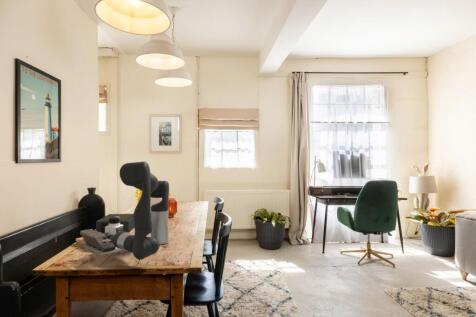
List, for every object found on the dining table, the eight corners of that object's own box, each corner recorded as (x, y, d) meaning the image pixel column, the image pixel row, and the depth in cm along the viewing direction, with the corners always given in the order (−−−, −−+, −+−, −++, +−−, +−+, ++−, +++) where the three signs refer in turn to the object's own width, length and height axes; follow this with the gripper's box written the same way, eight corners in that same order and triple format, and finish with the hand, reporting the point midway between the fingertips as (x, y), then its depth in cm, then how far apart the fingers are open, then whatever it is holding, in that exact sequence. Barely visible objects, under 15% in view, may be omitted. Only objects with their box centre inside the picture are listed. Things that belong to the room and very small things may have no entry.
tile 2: (111, 244, 150) (100, 232, 157) (98, 247, 145) (88, 234, 152) (110, 247, 150) (100, 235, 157) (98, 250, 146) (88, 237, 153)
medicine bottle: (116, 240, 166) (116, 218, 166) (104, 239, 168) (104, 217, 168) (123, 236, 173) (123, 216, 173) (112, 236, 175) (112, 215, 175)
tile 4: (101, 240, 156) (92, 228, 163) (89, 243, 151) (80, 230, 159) (100, 243, 156) (91, 231, 164) (89, 246, 152) (79, 233, 159)
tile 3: (106, 242, 153) (96, 230, 160) (94, 245, 148) (84, 232, 155) (105, 245, 153) (95, 233, 160) (93, 248, 149) (84, 235, 156)
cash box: (129, 233, 183) (129, 220, 183) (94, 234, 181) (95, 221, 181) (139, 224, 208) (139, 213, 208) (108, 225, 205) (108, 213, 206)
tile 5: (97, 238, 159) (87, 236, 167) (85, 241, 155) (75, 238, 162) (97, 242, 159) (87, 239, 167) (85, 244, 155) (75, 241, 162)
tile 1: (115, 246, 147) (104, 233, 154) (103, 249, 142) (93, 235, 149) (115, 249, 147) (104, 236, 154) (103, 252, 142) (92, 238, 150)
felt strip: (122, 251, 146) (122, 250, 146) (102, 256, 138) (102, 255, 138) (99, 242, 162) (99, 241, 162) (80, 246, 154) (80, 245, 154)
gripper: (138, 230, 140) (119, 224, 151) (111, 235, 130) (93, 229, 141) (138, 246, 140) (119, 239, 151) (111, 252, 130) (92, 245, 141)
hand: (106, 234), depth 146 cm, fingers closed
